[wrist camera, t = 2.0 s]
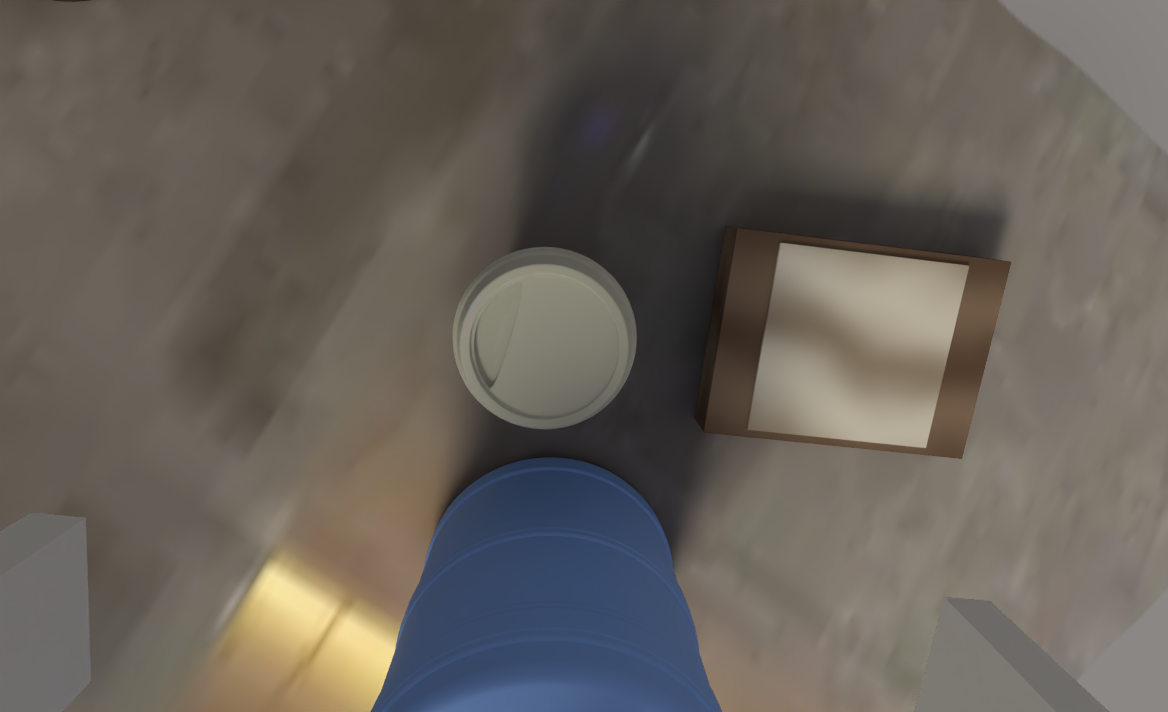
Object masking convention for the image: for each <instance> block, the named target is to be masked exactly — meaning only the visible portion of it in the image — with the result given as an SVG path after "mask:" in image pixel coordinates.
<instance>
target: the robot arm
mask: <svg viewBox="0 0 1168 712" xmlns="http://www.w3.org/2000/svg"><path fill="white" fill-rule="evenodd" d="M55 1H72V2H75V1H88V0H55ZM90 682H91V669H90V638H89V607H88V575H87V544H86V518H83V517H72V516H61V515H51V514H40V513H30V514H28V515H26V516H25V517H23V518H21V519H20V520H18V521H16V522H15V523H13V524H11V525H10V526H8V527H7V528H5V529H3V530H2V531H0V712H62V711H63V710H64V709H65V708H66V707H67V706H68V705H69V704H70V703H71V702H72V701H73V700H74V699H75V698H76V697H77V695H78V694H79V693H80V692H81V691H82V690H83V689H84V688H85V687H86V686H87V685H88V684H89V683H90ZM914 712H1109V711H1108V710H1107V709H1106V708H1105V707H1104V706H1103V705H1101V704H1100V703H1099V702H1098V701H1097V700H1096V699H1095V698H1094V697H1093V696H1091V694H1090V693H1089V692H1087V691H1086V690H1085V689H1084V688H1083V687H1082V686H1081V685H1080V684H1079V683H1078V682H1077V681H1076V680H1075V679H1073V678H1072V677H1071V676H1070V675H1069V674H1068V673H1067V672H1066V671H1065V670H1064V669H1063V668H1062V667H1061V666H1059V665H1058V664H1057V663H1056V662H1055V661H1054V660H1053V659H1052V658H1051V657H1050V656H1049V655H1048V654H1047V653H1045V652H1044V651H1043V650H1042V649H1041V648H1040V647H1039V646H1038V645H1037V644H1036V643H1035V642H1034V641H1033V640H1031V639H1030V638H1029V637H1028V636H1027V635H1026V634H1025V633H1024V632H1023V631H1022V630H1021V629H1020V628H1019V627H1017V626H1016V625H1015V624H1014V623H1013V622H1012V621H1011V620H1010V619H1009V618H1008V617H1007V616H1006V615H1005V614H1003V613H1002V612H1001V611H1000V610H999V609H998V608H997V607H996V606H995V605H994V604H993V603H992V602H991V601H984V600H973V599H962V598H951V597H944V599H943V603H942V607H941V611H940V615H939V618H938V622H937V626H936V630H935V634H934V638H933V642H932V645H931V649H930V653H929V657H928V661H927V665H926V669H925V672H924V676H923V680H922V684H921V688H920V692H919V696H918V699H917V703H916V707H915V711H914Z"/></svg>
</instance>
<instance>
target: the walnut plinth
mask: <svg viewBox="0 0 1168 712" xmlns="http://www.w3.org/2000/svg"><path fill="white" fill-rule="evenodd" d="M1010 265H1011V262H1009V261H1002V260H995V259H988V258H981V257H973V256H964V255H956V254H948V253H940V252H932V251H924V250H915V249H907V248H899V247H891V246H883V245H875V244H866V243H858V242H850V241H842V240H834V239H826V238H817V237H809V236H801V235H793V234H785V233H777V232H768V231H760V230H752V229H744V228H736V227H728V226H726V227H725V233H724V239H723V245H722V252H721V258H720V264H719V270H718V276H717V283H716V289H715V295H714V301H713V307H712V314H711V320H710V326H709V332H708V338H707V344H706V351H705V357H704V363H703V369H702V375H701V382H700V388H699V394H698V400H697V406H696V413H695V419H696V421H697V422H698V424H699V425H700V427H701V429H702V430H703V432H706V433H715V434H725V435H735V436H745V437H754V438H764V439H774V440H784V441H793V442H803V443H813V444H823V445H832V446H842V447H852V448H862V449H871V450H881V451H891V452H901V453H910V454H920V455H930V456H940V457H949V458H959V459H962V456H963V452H964V448H965V444H966V440H967V436H968V432H969V428H970V424H971V420H972V416H973V412H974V408H975V404H976V400H977V396H978V392H979V388H980V384H981V380H982V376H983V372H984V369H985V365H986V361H987V357H988V353H989V349H990V345H991V341H992V337H993V333H994V329H995V325H996V321H997V317H998V313H999V309H1000V305H1001V301H1002V297H1003V293H1004V289H1005V285H1006V281H1007V277H1008V273H1009V269H1010Z"/></svg>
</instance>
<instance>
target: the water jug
mask: <svg viewBox="0 0 1168 712" xmlns="http://www.w3.org/2000/svg"><path fill="white" fill-rule="evenodd" d="M371 712H722V710H721V708H720V706H719V704H718V701H717V699H716V697H715V695H714V693H713V691H712V689H711V687H710V685H709V682H708V679H707V675H706V672H705V669H704V666H703V663H702V660H701V657H700V653H699V646H698V640H697V635H696V630H695V626H694V623H693V620H692V617H691V614H690V611H689V607H688V605H687V602H686V599H685V597H684V595H683V593H682V591H681V588H680V586H679V584H678V582H677V579H676V576H675V573H674V570H673V561H672V556H671V551H670V547H669V544H668V541H667V538H666V535H665V533H664V530H663V528H662V526H661V524H660V522H659V520H658V518H657V516H656V515H655V513H654V512H653V510H652V509H651V507H650V506H649V504H648V503H647V502H646V501H645V499H644V498H643V497H642V496H641V495H640V494H639V493H638V492H637V491H636V490H635V489H634V488H633V487H631V486H630V485H629V484H628V483H626V482H625V481H624V480H622V479H621V478H619V477H618V476H616V475H614V474H613V473H611V472H609V471H607V470H605V469H603V468H600V467H598V466H595V465H593V464H590V463H586V462H583V461H579V460H574V459H567V458H555V457H545V458H533V459H527V460H522V461H518V462H514V463H511V464H508V465H505V466H502V467H500V468H497V469H495V470H493V471H491V472H489V473H487V474H486V475H484V476H482V477H481V478H479V479H478V480H476V481H475V482H473V483H472V484H471V485H469V486H468V487H467V488H466V489H465V490H464V491H463V492H461V493H460V494H459V495H458V496H457V498H456V499H455V500H454V501H453V502H452V503H451V505H450V506H449V507H448V509H447V510H446V511H445V513H444V515H443V516H442V518H441V520H440V521H439V523H438V525H437V528H436V530H435V532H434V535H433V538H432V540H431V543H430V546H429V549H428V552H427V556H426V560H425V566H424V571H423V573H422V576H421V579H420V582H419V584H418V586H417V588H416V590H415V592H414V594H413V596H412V598H411V600H410V602H409V605H408V607H407V610H406V613H405V616H404V619H403V621H402V624H401V627H400V631H399V635H398V639H397V644H396V649H395V653H394V656H393V659H392V662H391V665H390V668H389V670H388V673H387V676H386V679H385V682H384V685H383V688H382V690H381V693H380V694H379V696H378V698H377V700H376V702H375V704H374V706H373V708H372V710H371Z"/></svg>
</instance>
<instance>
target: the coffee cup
mask: <svg viewBox="0 0 1168 712" xmlns="http://www.w3.org/2000/svg"><path fill="white" fill-rule="evenodd" d="M636 346H637V329H636V322H635V317H634V313H633V310H632V307H631V305H630V302H629V300H628V298H627V296H626V294H625V292H624V291H623V289H622V288H621V286H620V285H619V283H618V282H617V281H616V280H615V278H614V277H613V276H612V275H611V274H610V273H609V272H608V271H607V270H605V269H604V268H603V267H602V266H600V265H599V264H598V263H596V262H595V261H593V260H591V259H590V258H588V257H586V256H584V255H581V254H579V253H576V252H573V251H570V250H566V249H562V248H555V247H534V248H527V249H522V250H519V251H515V252H512V253H510V254H507V255H505V256H503V257H501V258H499V259H497V260H496V261H494V262H493V263H491V264H490V265H488V266H487V267H486V268H485V269H483V270H482V271H481V272H480V273H479V274H478V275H477V276H476V277H475V278H474V280H473V281H472V282H471V283H470V285H469V286H468V288H467V289H466V291H465V292H464V294H463V296H462V298H461V300H460V303H459V305H458V308H457V311H456V314H455V319H454V324H453V349H454V355H455V360H456V363H457V367H458V370H459V372H460V375H461V377H462V379H463V381H464V383H465V384H466V386H467V388H468V389H469V391H470V392H471V393H472V395H473V396H474V397H475V398H476V399H477V400H478V401H479V402H480V403H481V404H482V405H483V406H484V407H485V408H486V409H487V410H489V411H490V412H491V413H493V414H494V415H496V416H498V417H499V418H501V419H503V420H505V421H507V422H510V423H512V424H515V425H518V426H522V427H526V428H532V429H558V428H563V427H568V426H572V425H575V424H578V423H580V422H582V421H584V420H587V419H589V418H590V417H592V416H594V415H595V414H597V413H598V412H600V411H601V410H602V409H604V408H605V407H606V406H607V405H608V404H609V403H610V402H611V401H612V400H613V399H614V398H615V397H616V395H617V394H618V393H619V391H620V390H621V388H622V387H623V385H624V384H625V382H626V380H627V378H628V376H629V373H630V371H631V368H632V365H633V362H634V358H635V353H636Z"/></svg>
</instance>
